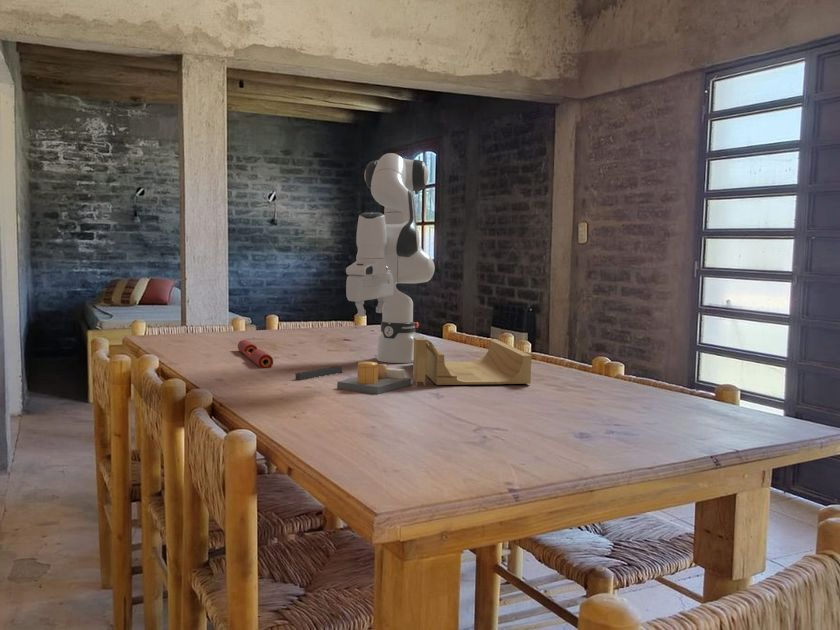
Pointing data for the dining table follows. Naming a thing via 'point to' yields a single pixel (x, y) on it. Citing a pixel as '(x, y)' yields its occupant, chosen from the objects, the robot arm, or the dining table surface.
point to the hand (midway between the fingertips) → (370, 314)
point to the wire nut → (367, 372)
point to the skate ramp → (472, 365)
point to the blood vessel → (255, 354)
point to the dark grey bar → (318, 373)
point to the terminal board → (386, 381)
